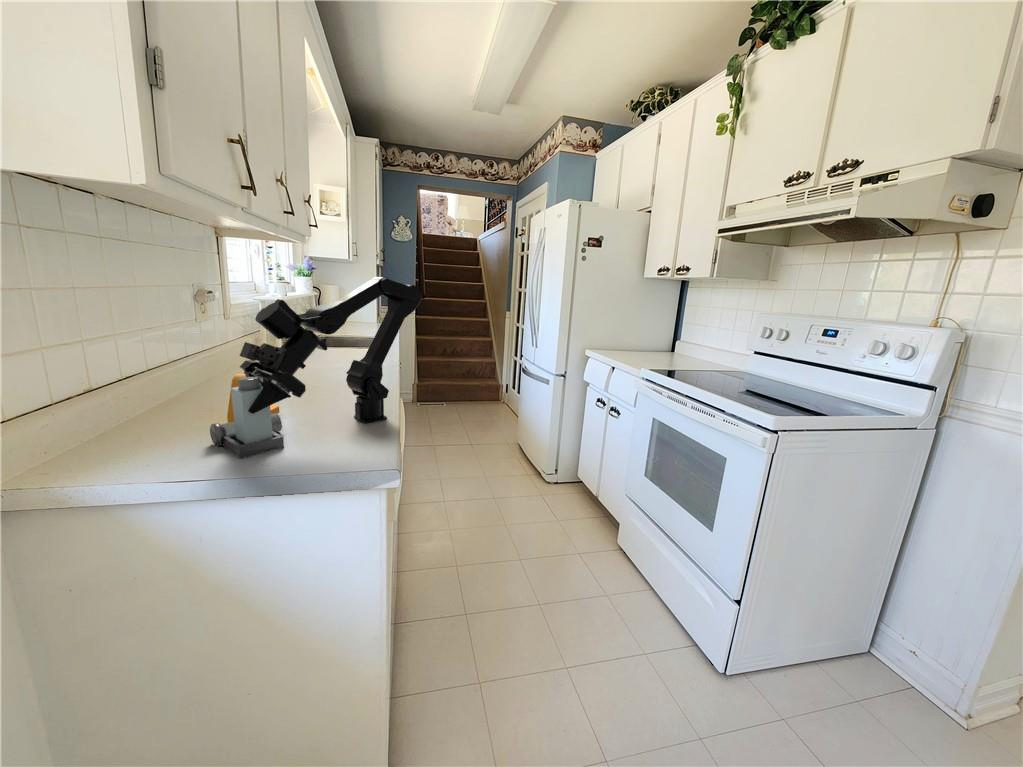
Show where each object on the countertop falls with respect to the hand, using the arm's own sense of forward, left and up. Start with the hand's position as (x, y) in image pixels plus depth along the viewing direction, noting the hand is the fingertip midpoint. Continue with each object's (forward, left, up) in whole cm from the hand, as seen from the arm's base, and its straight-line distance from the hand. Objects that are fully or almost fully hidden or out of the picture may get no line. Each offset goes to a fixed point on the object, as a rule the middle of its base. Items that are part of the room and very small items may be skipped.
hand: (244, 409), depth 88 cm
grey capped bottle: (-1, 0, -7) cm, 7 cm away
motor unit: (-2, -3, -9) cm, 9 cm away
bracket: (-7, -19, -9) cm, 22 cm away
